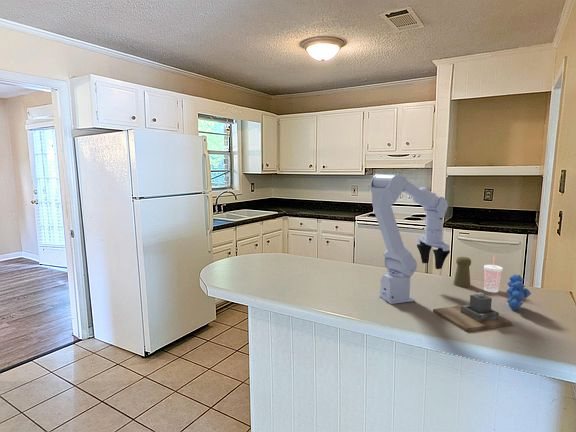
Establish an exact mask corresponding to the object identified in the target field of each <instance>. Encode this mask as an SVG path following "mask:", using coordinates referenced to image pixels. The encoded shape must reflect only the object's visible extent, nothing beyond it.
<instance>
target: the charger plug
mask: <svg viewBox="0 0 576 432" xmlns="http://www.w3.org/2000/svg"><path fill="white" fill-rule="evenodd" d="M492 300H493V299H492V297H489V296H488V295H485V293H484V292H478V293H477V294H476V293H475V294H470V295H469V304H470V307H469V309H470V310H472V311H474V312H476V313H478V314H483V313H490V312H491V309H492Z"/></svg>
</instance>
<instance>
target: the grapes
mask: <svg viewBox="0 0 576 432" xmlns="http://www.w3.org/2000/svg"><path fill="white" fill-rule="evenodd" d="M508 279H509V282H508V283H507V286H508V287H509V288H508V289H507V290H506V292H505V293H506V294H507V296H508V297H509V298H508V299H507V300H506V302H507V303H508V304H507V305H508V306H509V308H510V309H511V310H512V311H517V310H518V309H519V308H521V307H522V305H523V302H522V300H523V299H524V298H525V299H526V298H528V297H530V296H531V295H532V292H531V291H530V290H529V289H528V288H525V287H526V286H525V284H524V283H523V281H524V278H523V276H521V275H520V274H516V273H515V274H512V275H511V276H510V277H509V278H508Z"/></svg>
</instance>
